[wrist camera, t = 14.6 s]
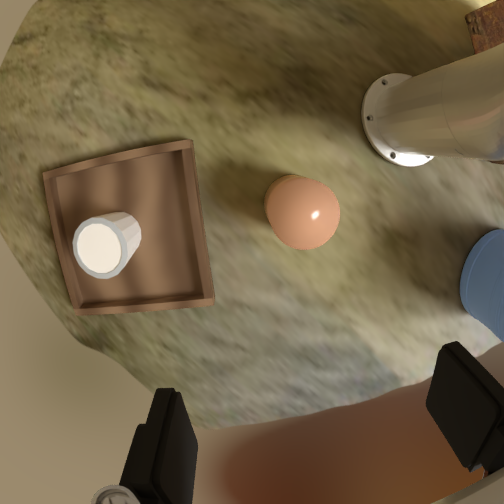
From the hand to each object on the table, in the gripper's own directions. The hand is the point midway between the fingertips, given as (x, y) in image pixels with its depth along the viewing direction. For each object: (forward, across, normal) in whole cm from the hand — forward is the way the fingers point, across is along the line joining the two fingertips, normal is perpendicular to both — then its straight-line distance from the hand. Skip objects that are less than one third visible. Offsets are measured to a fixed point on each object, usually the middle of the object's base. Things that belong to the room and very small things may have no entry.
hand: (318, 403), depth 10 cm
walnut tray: (+30, +17, -1) cm, 35 cm away
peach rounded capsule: (+30, -4, -2) cm, 31 cm away
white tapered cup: (+30, +18, -1) cm, 35 cm away
